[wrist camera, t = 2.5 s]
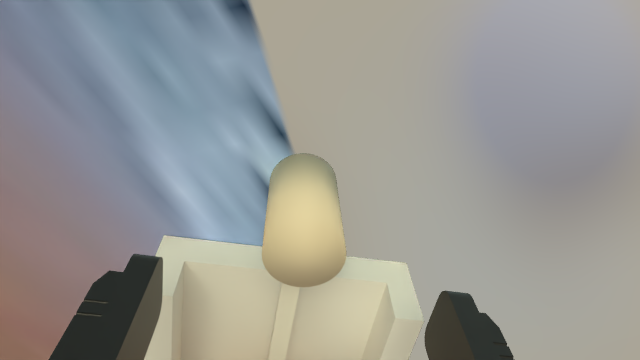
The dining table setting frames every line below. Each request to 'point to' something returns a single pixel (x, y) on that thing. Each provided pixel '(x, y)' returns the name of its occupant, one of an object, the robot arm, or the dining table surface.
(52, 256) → the dining table surface
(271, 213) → the peach block with knob
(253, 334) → the shelf lane
